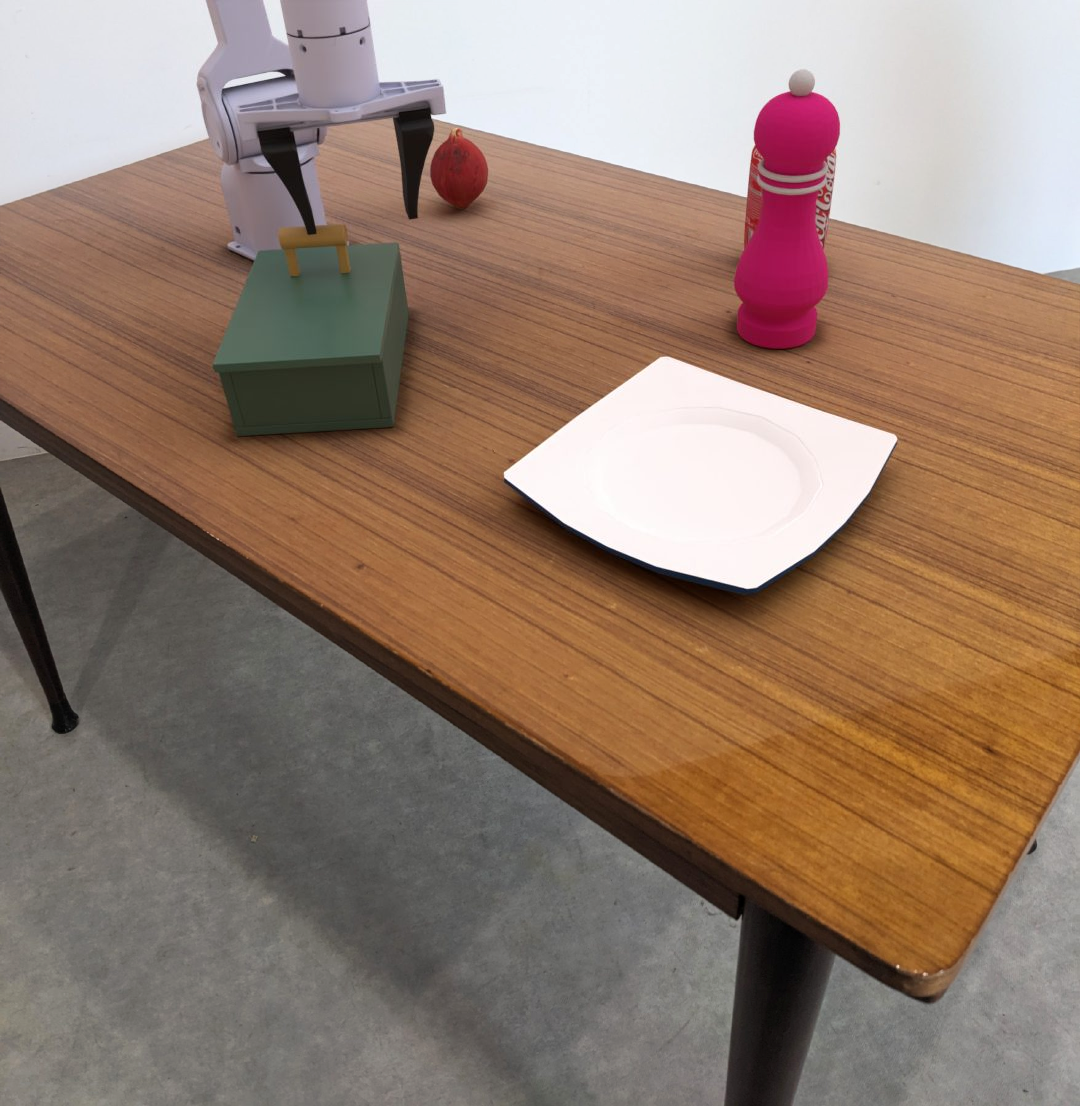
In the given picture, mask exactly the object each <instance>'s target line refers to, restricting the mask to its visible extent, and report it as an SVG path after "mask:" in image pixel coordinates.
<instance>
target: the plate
mask: <svg viewBox="0 0 1080 1106" xmlns="http://www.w3.org/2000/svg"><path fill="white" fill-rule="evenodd" d="M898 440H899V439H898V437H897V436H896V434H895V433H891V432H888V431H885V430H882V429H879V428H875V427H873V426H869V425H867V424H863V423H860V422H857V421H854V420H851V419H848V418H844V417H842V416H839V415H835V414H832V413H828V412H826V411H823V410H820V409H817V408H814V407H811V406H808V405H805V404H802V403H801V402H800V403H799V402H797V401H794V400H791V399H787V398H785V397H783V396H780V395H776V394H774V393H770V392H768V391H765V390H762V389H759V388H756V387H754V386H751V385H747V384H744V383H742V382H738V381H736V380H733V379H731V378H728V377H725V376H722V375H720V374H717V373H714V372H712V371H708V370H707V369H703V368H702V367H701V368H700V367H697V366H695V365H692V364H689V363H687V362H684V361H681V360H679V359H676V358H673V357H671V356H659V358H657V359H656V360H655V361H653V362H652V363H650V364H649V365H648V366H646V367H644V368H643V369H641V370H640V371H639V372H637V373H636V374H635V375H633V376H632V377H630V378H629V379H627V380H626V381H624V382H623V383H622V384H621V385H619V386H618V387H616V388H615V389H613V390H612V391H611V392H609V393H608V394H606V395H605V396H603V397H602V398H601V399H600V400H598V401H597V402H595V403H594V404H592V405H591V406H590V407H588V408H587V409H585V410H584V411H583V412H581V413H579V414H578V415H577V416H576V417H574V418H573V419H572V420H570V421H569V422H567V423H566V424H565V425H563V426H562V427H561V428H559V430H557V431H556V432H555V433H553V434H552V435H551V436H549V437H548V438H546V439H545V440H544V441H543V442H542V443H540V444H539V445H537V446H536V447H535V448H533V450H531V451H530V452H528V453H527V454H526V455H525V456H524V457H522V458H521V459H519V460H518V461H517V462H515V463H514V464H513V465H512V466H510V467H509V468H508V469H507V470H505V471H504V472H503V482H504V484H506V485H507V486H508V487H510V488H511V489H512V490H514V491H515V492H516V493H518V494H519V495H520V496H521V497H523V498H524V499H526V501H528V502H529V503H530V504H532V505H533V506H535V507H536V508H537V509H539V510H540V511H541V512H543V513H544V514H545V515H547V516H548V517H549V518H550V519H552V520H553V521H554V522H556V523H557V524H558V525H560V526H561V527H562V528H564V529H565V530H566V531H568V532H570V533H572V534H573V535H576V536H577V537H579V538H581V539H583V540H585V541H586V542H589V543H590V544H592V545H594V546H595V547H597V548H600V549H602V550H604V551H606V552H607V553H609V554H612V555H614V556H616V557H619V558H621V559H624V560H626V561H628V562H630V563H632V564H635V565H637V566H640V567H642V568H644V569H647V570H649V571H652V572H654V573H657V574H659V575H662V576H667V577H670V578H675V579H678V580H683V581H686V582H690V583H693V584H698V585H701V586H706V587H710V588H714V589H716V590H722V591H724V592H729V593H733V594H737V595H741V596H743V595H753V594H757V593H759V592H760V591H762V590H763V589H766V587H768V586H769V585H771V584H772V583H774V582H775V581H777V580H779V579H780V578H783V576H785V575H786V574H788V573H790V572H792V570H793V571H794V569H796V568H797V567H799V566H800V565H802V564H804V563H805V562H807V561H808V560H809V559H810V560H811V558H813V557H814V556H815V555H816V554H817V553H818V552H819V551H820V550H822V549H823V548H824V547H825V546H826V545H827V544H828V543H829V542H830V541H831V540H832V539H833V538H834V537H835V536H836V535H838V534H839V533H840V532H841V531H842V530H843V529H844V528H845V527H846V526H847V525H848V523H850V521H851V519H852V518H853V517H854V516H855V515H856V513H857V512H858V510H859V509H860V508H861V507H862V506H863V504H864V503H865V502H866V500H867V499H868V498H869V496H870V494H871V493H872V491H873V489H874V487H875V486H876V484H877V482H878V480H879V478H880V476H881V474H882V473H883V471H884V468H885V467H886V465H887V463H888V462H889V460H890V458H891V456H892V454H893V452H894V451H895V449H896V447H897V445H898Z"/></svg>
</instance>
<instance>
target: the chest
mask: <svg viewBox="0 0 1080 1106" xmlns="http://www.w3.org/2000/svg"><path fill="white" fill-rule="evenodd" d="M401 255H402V254H401V250H399V256H398V262H397V269H396V275H395V281H394V287H393V293H392V299H391V305H390V311H389V317H388V323H387V329H386V335H385V341H384V347H383V353H382V359H381V363H370V364H353V365H336V366H319V367H303V368H286V369H269V370H253V371H236V372H219V373H218V376H219V379H220V383H221V386H222V391H223V393H224V397H225V399H226V403H227V406H228V407H227V408H228V411H229V413H230V417H231V421H232V424H233V427H234V431H235V435H236V437H249V436H250V437H251V436H266V435H268V436H269V435H281V434H282V435H283V434H285V435H286V434H299V433H316V432H317V433H318V432H329V431H330V432H332V431H333V432H334V431H351V430H366V429H382V428H383V429H384V428H393V427H394V426H395V420H396V419H395V418H396V412H397V405H398V398H399V389H400V382H401V375H402V369H403V360H404V353H405V346H406V338H407V330H408V323H409V316H410V312H409V311H410V310H409V307H408V306H409V304H408V297H407V291H406V285H405V284H406V283H405V277H404V270H403V263H402V256H401Z"/></svg>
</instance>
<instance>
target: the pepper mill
mask: <svg viewBox="0 0 1080 1106" xmlns="http://www.w3.org/2000/svg"><path fill="white" fill-rule="evenodd" d="M815 84H816V78H815V75H814V74H813V73H812V72H811V71H810V70H808V69H805V68H802V69H798V70H796V71H795V72H794V73H792V74H791V76H790V77H789V80H788V91H786V92H783V93H780V94H777V95H776V96H774V97H772V98H771V99H769V100H768V101H767V102H766V103H765V104H764V105H763V106H762V108H761V109H760V111H759V112H758V115H757V117H756V120H755V123H754V128H753V143H754V146H756V149H757V150H758V152H759V153H760V155H761V156H762V157H763V160H761V161H760V162H759V164H758V170H759V175H758V176H757V183H758V184H759V186H761V187H762V198H763V201H762V209H761V215H760V218H759V221H758V225H757V227H756V229H755V231H754V233H753V235H752V237H751V238H750V240H749V242H748V244H747V245H746V247H745V249H744V248H743V250H742V252H741V254H740V257H739V260H738V262H737V265H736V269H735V273H734V279H733V285H734V286H733V287H734V290H735V293H736V295H737V298H739V300H740V301H741V302H742V303H740V304H739V307H738V309H737V318H736V319H737V321H736V331H737V333H738V335H739V337H740V338H741V339H743V340H744V341H745V342H747V343H749V344H751V345H754V346H757V347H759V348H764V349H773V350H784V349H792V348H797V347H800V346H803V345H805V344H807V343H808V342H809V341H811V340H812V339H813V338H814V336H815V334H816V330H817V329H816V328H817V321H818V310H817V308H816V306H817V305H818V304H819V303H820V302H821V301H822V300H823V298H824V297H825V295H826V294H827V290H828V288H829V266H828V260H827V257H826V253H825V249H824V250H823V247H822V245H821V242H820V239H819V236H818V232H817V229H816V221H815V210H816V201H817V197H818V193H819V190H820V189H821V188H823V187H824V186H825V184H826V182H827V178H826V173H827V171H828V165H827V163H826V162H825V161H824V160H825V159H826V158H827V157H828V156H829V155H830V154H831V153H832V152H833V151H834V149H836V147H837V145H838V143H839V139H840V135H841V121H840V115H839V112H838V111H837V108H836V107H835V105H834V104H833V103H832V101H830V99H829V98H827V97H825V96H824V95H823V94H820V93H817V92H814V91H813V90H814V88H815Z"/></svg>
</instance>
